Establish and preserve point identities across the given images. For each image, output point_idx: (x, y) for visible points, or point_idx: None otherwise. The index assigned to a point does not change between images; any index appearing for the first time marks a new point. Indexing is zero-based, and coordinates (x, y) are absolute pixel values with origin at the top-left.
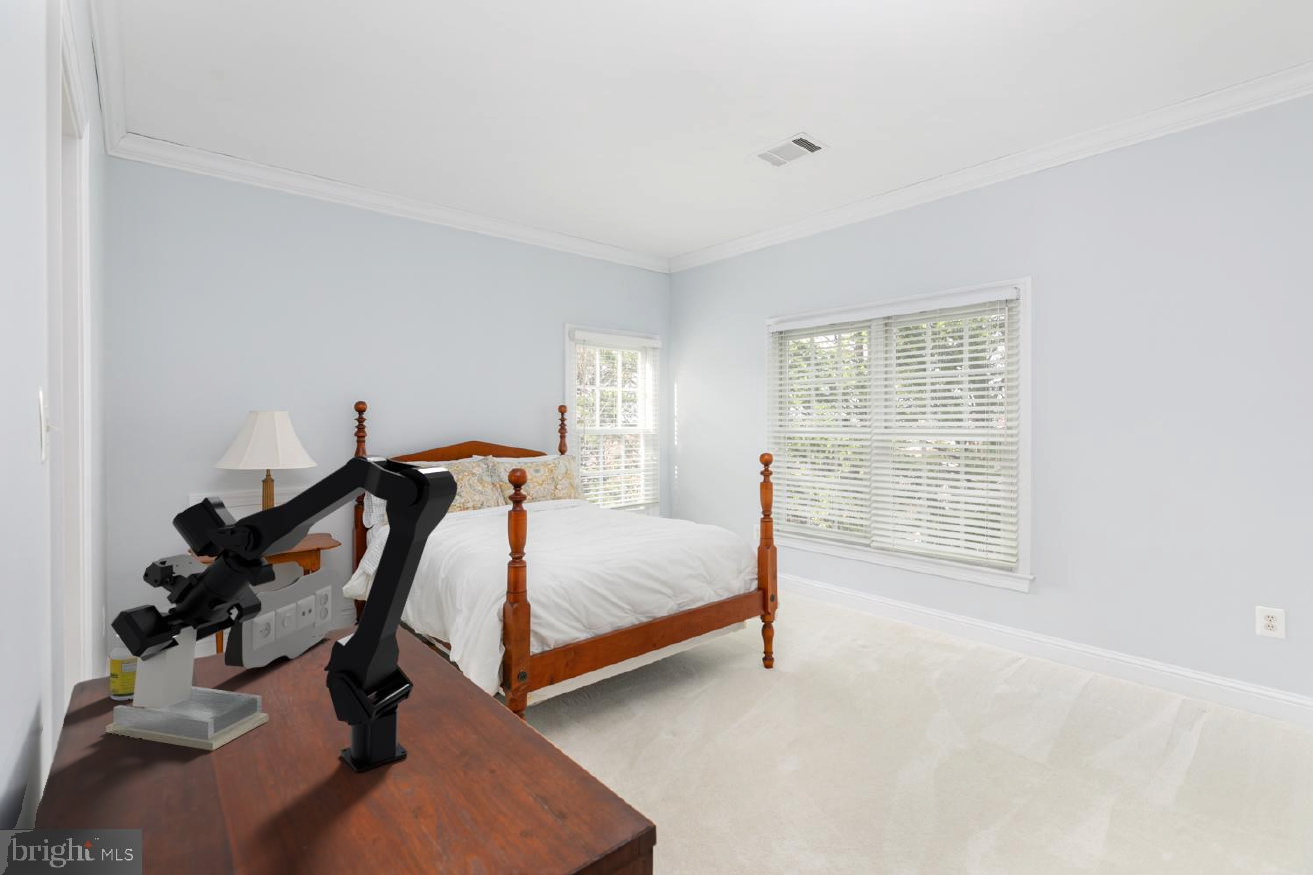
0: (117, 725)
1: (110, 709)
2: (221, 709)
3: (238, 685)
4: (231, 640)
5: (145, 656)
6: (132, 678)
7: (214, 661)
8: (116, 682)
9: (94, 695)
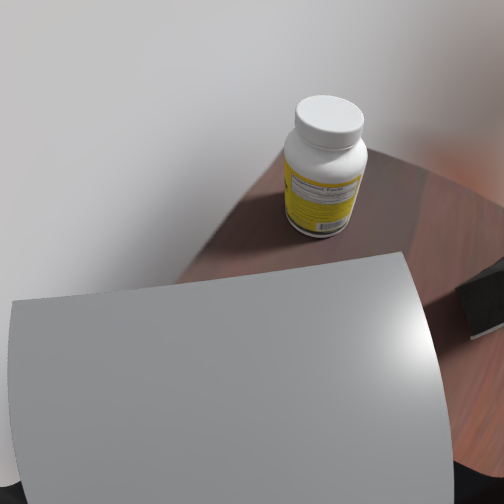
0: None
1: (259, 245)
2: None
3: (440, 345)
4: (495, 286)
5: None
6: (305, 210)
7: (451, 197)
8: (286, 196)
9: (283, 171)
